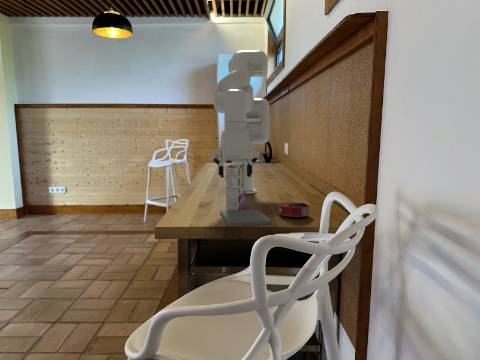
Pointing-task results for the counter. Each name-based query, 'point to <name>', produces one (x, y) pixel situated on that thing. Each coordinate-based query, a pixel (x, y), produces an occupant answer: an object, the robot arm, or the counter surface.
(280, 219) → the counter surface
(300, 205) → the canned food
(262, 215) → the mat
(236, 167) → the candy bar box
